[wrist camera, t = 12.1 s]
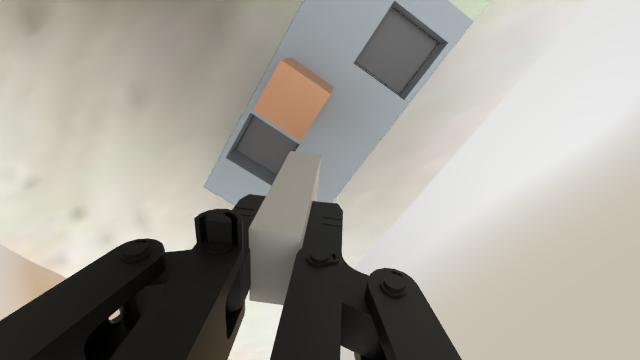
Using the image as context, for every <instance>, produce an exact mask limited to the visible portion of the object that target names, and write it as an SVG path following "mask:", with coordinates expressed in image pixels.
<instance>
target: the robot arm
mask: <svg viewBox="0 0 640 360" xmlns="http://www.w3.org/2000/svg"><path fill="white" fill-rule="evenodd" d="M320 164H321V155H320V154H311V153H303V152H294V151H290V152H289V154H288V156H287V158H286V160H285V162H284V164H283V165H282V167H281V169H280V171H279V173H278V175H277V177H276V179H275V180H274V182H273V184H272V186H271V188H270V190H269V192H268V193H267V195H266V196H261V195H253V194H248V195H246V196H245V197H243V198H241V199H240V200H239V201H238V202H237V204H236V205H235V207H234V208H233V210H229V209H214V210H209V211H206V212H204V213H201V214H199V215H198V216H197V217H195V218H194V220H195V230H196V239H197V243H196V245H195V246H194V247H193V249H191V250H185V251H175V252H165V249H164V246H163V244H162V243H161V242H159V241H157V240H154V239H137V240H133V241H129V242H126V243H124V244H122V245H120V246H118V247H116V248H115V249H113V250H112V251H110V252H108V253H107V254H105V255H104V256H102V257H100V258H99V259H97V260H96V261H94V262H93V263H91V264H89V265H88V266H86V267H85V268H83V269H81V270H80V271H78V272H77V273H75V274H74V275H72V276H70V277H69V278H67V279H66V280H64V281H63V282H61V283H59V284H58V285H56V286H55V287H53V288H51V289H50V290H48V291H47V292H45V293H43V294H42V295H40V296H39V297H37V298H36V299H34V300H32V301H31V302H29V303H28V304H26V305H25V306H23V307H21V308H20V309H18V310H17V311H15V312H13V313H12V314H10V315H9V316H7V317H6V318H4V319H2V320H1V321H0V360H227V359H228V356H229V354H230V351H231V348H232V346H233V343H234V340H235V338H236V335H237V333H238V330H239V327H240V325H241V322H242V319H243V317H244V313H245V299H246V296H247V294H248V291H249V289H250V300H251V301H258V302H265V303H273V304H280V305H284V306H283V310H282V314H281V318H280V322H279V326H278V330H277V334H276V338H275V342H274V346H273V350H272V354H271V358H270V360H340V345H341V346H343V347H345V348H347V349H349V350H351V351H353V352H354V355H355V360H462V359H461V358H460V356H459V354H458V353H457V351H456V349H455V347H454V346H453V344H452V342H451V341H450V339H449V337H448V336H447V334H446V332H445V330H444V329H443V327H442V325H441V324H440V322H439V320H438V319H437V317H436V315H435V313H434V312H433V310H432V308H431V307H430V305H429V303H428V302H427V300H426V298H425V297H424V295H423V293H422V291H421V290H420V288H419V287H418V285H417V284H416V282H415V281H414V280H413V279H412V278H411V277H410V276H408V275H407V274H405V273H403V272H401V271H398V270H395V269H389V268H383V269H378V270H375V271H374V272H373V273H371V274H370V276H368V275H366V274H363V273H361V272H358V271H356V270H354V269H353V268H351V267H350V266H349V265H348V264H347V263H346V262H345V261H344V259H343V257H342V222H343V221H342V220H343V211H342V209H341V208H340V206H339V205H338V204H335V203H327V202H319V201H317V195H318V185H319V174H320ZM118 309H119V310H120V315H118V316H117V317H116V318H114V319H112V320H109V318H108V317H110V316H111V315H112V314H113V313H114V312H116V311H117V310H118Z"/></svg>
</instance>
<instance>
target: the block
mask: <svg viewBox="0 0 640 360" xmlns="http://www.w3.org/2000/svg"><path fill="white" fill-rule="evenodd" d="M332 90H333V86H331V85H330V84H329V83H327V82H326V81H324V80H323V79H321V78H320V77H319V76H317V75H316V74H314V73H313V72H311V71H310V70H309V69H307V68H306V67H304V66H303V65H301V64H300V63H299V62H297V61H296V60H294V59H293V58H286V59H282V60H280V62H279V64H278V66H277V68H276V69H275V71H274V73H273V75H272V77H271V78H270V80H269V82H268V84H267V86H266V88H265V89H264V91H263V93H262V95H261V97H260V98H259V100H258V102H257V104H256V106H255V108H254V109H253V110H254V111H255V112H257V113H258V114H260V115H261V116H263V117H265V118H266V119H268V120H269V121H271V122H272V123H274V124H275V125H277V126H278V127H280V128H281V129H283V130H284V131H286V132H288V133H289V134H291V135H292V136H294V137H295V138H297V139H298V140H300V141H301V139H302V138H303V136H304V135H305V133H306V132H307V130H308V129H309V127H310V125H311V124H312V122H313V121H314V119H315V118H316V116H317V115H318V113H319V112H320V110H321V109H322V107H323V106H324V104H325V103H326V101H327V99H328V98H329V96H330V95H331V93H332Z"/></svg>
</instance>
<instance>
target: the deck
mask: <svg viewBox="0 0 640 360" xmlns="http://www.w3.org/2000/svg"><path fill="white" fill-rule="evenodd" d="M489 1H490V0H304V1H303V3H302V4H301V6H300V8H299V10H298V12H297V14H296V16H295V17H294V19H293V21H292V23H291V25H290V27H289V29H288V31H287V32H286V34H285V36H284V38H283V40H282V42H281V44H280V45H279V47H278V49H277V51H276V53H275V55H274V57H273V58H272V60H271V62H270V64H269V66H268V68H267V70H266V72H265V73H264V75H263V77H262V79H261V81H260V83H259V85H258V86H257V88H256V90H255V92H254V94H253V96H252V98H251V99H250V101H249V103H248V105H247V107H246V109H245V111H244V113H243V114H242V116H241V118H240V120H239V122H238V124H237V126H236V127H235V129H234V131H233V133H232V135H231V137H230V139H229V140H228V142H227V144H226V146H225V148H224V150H223V152H222V154H221V155H220V157H219V159H218V161H217V163H216V165H215V167H214V168H213V170H212V172H211V174H210V176H209V178H208V180H207V181H206V183H205V185H204V187H205V188H206V189H208V190H210V191H211V192H213V193H215V194H216V195H218V196H220V197H222V198H223V199H225V200H227V201H228V202H230V203H232V204H234V205H236V204H237V202H238V201H239V200H240V199H241V198H243V197H245V196H246V195H248V194H253V195H261V196H266V195H267V193H268V192H269V190H270V188H271V186H272V184H273V182H274V180H275V179H276V177H277V175H278V173H279V171H280V169H281V167H282V165H283V164H284V162H285V160H286V158H287V156H288V154H289V152H290V151H294V149H295V148H296V146H297V144H299V145H298V146H297V148H296V149H295V151H294V152H303V153H311V154H320V155H321V164H320V174H319V185H318V195H317V201H319V202H327V203H332V201H333V200H334V199H335V197H336V196H337V195H338V194H339V192H340V191H341V190H342V188H343V187H344V186H345V185H346V183H347V182H348V181H349V180H350V178H351V177H352V176H353V174H354V173H355V172H356V171H357V169H358V168H359V167H360V166H361V164H362V163H363V162H364V160H365V159H366V158H367V157H368V155H369V154H370V153H371V152H372V150H373V149H374V148H375V146H376V145H377V144H378V143H379V141H380V140H381V139H382V137H383V136H384V135H385V134H386V132H387V131H388V130H389V129H390V127H391V126H392V125H393V123H394V122H395V121H396V120H397V118H398V117H399V116H400V115H401V113H402V112H403V111H404V109H405V108H406V107H407V106H408V104H409V103H410V102H411V101H412V99H413V98H414V97H415V95H416V94H417V93H418V92H419V90H420V89H421V88H422V86H423V85H424V84H425V83H426V81H427V80H428V79H429V78H430V76H431V75H432V74H433V72H434V71H435V70H436V69H437V67H438V66H439V65H440V64H441V62H442V61H443V60H444V58H445V57H446V56H447V55H448V53H449V52H450V51H451V50H452V48H453V47H454V46H455V44H456V43H457V42H458V41H459V39H460V38H461V37H462V35H463V34H464V33H465V32H466V30H467V29H468V28H469V27H470V25H471V24H472V23H473V21H474V20H475V19H476V18H477V16H478V15H479V14H480V13H481V11H482V10H483V9H484V7H485V6H486V5H487V4H488V2H489ZM391 6H392V7H394V8H395V9H396V10H398V11H399V12H400V13H401V14H403V15H404V16H405V17H407V18H408V19H409V20H410V21H412V22H413V23H414V24H415V25H417V26H418V27H419V28H421V29H422V30H423V31H424V32H426V33H427V34H428V35H430V36H431V37H432V38H433V39H435V40H436V41H437V42H439V44H438V43H437V42H436V41H434V40H433V39H432V38H431V37H429V36H428V35H427V34H425V33H424V32H423V31H422V30H420V29H419V28H418V27H416V26H415V25H414V24H413V23H411V22H410V21H409V20H407V19H406V18H405V17H404V16H402V15H401V14H400V13H398V12H397V11H396V10H395V9H393V8H392V7H391ZM437 44H438V45H437ZM436 45H437V46H436ZM435 47H436V48H435ZM434 48H435V49H434ZM433 49H434V50H433ZM432 51H433V52H432ZM431 52H432V53H431ZM430 53H431V54H430ZM429 55H430V56H429ZM428 56H429V57H428ZM427 57H428V58H427ZM286 58H293V59H294V60H296V61H297V62H299V63H300V64H301V65H303V66H304V67H306V68H307V69H309V70H310V71H311V72H313V73H314V74H316V75H317V76H319V77H320V78H321V79H323V80H324V81H326V82H327V83H329V84H330V85H331V86H333V90H332V93H331V95H330V96H329V98H328V99H327V101H326V103H325V104H324V106H323V107H322V109H321V110H320V112H319V113H318V115H317V116H316V118H315V119H314V121H313V122H312V124H311V125H310V127H309V129H308V130H307V132H306V133H305V135H304V136H303V138H302V139H301V141H300V140H298V139H297V138H295V137H294V136H292V135H291V134H289V133H288V132H286V131H284V130H283V129H281V128H280V127H278V126H277V125H275V124H274V123H272V122H271V121H269V120H268V119H266V118H265V117H263V116H261V115H260V114H258V113H257V112H255V111H254V110H253V109H254V108H255V106H256V104H257V102H258V100H259V98H260V97H261V95H262V93H263V91H264V89H265V88H266V86H267V84H268V82H269V80H270V78H271V77H272V75H273V73H274V71H275V69H276V68H277V66H278V64H279V62H280V60H282V59H286ZM426 59H427V60H426ZM425 60H426V61H425ZM424 61H425V62H424ZM354 62H356V63H357V64H359V65H360V66H362V67H363V68H364V69H366V70H367V71H368V72H370V73H371V74H373V75H374V76H375V77H377V78H378V79H379V80H381V81H382V82H384V83H385V84H386V85H388V86H389V87H390V88H392V89H393V90H395V91H396V92H397V93H399V94H400V93H401V91H402V90H403V89H404V88H405V89H404V90H403V91H402V93H401V94H400V95H398V94H397V93H395V92H394V91H393V90H391V89H390V88H388V87H387V86H386V85H384V84H383V83H382V82H380V81H379V80H377V79H376V78H375V77H373V76H372V75H371V74H369V73H368V72H366V71H365V70H364V69H362V68H361V67H360V66H358V65H357V64H355V63H354ZM423 62H424V64H423ZM422 64H423V65H422ZM421 65H422V66H421ZM420 66H421V68H420ZM419 68H420V69H419ZM418 69H419V70H418ZM417 70H418V71H417ZM416 72H417V73H416ZM415 73H416V74H415ZM414 74H415V75H414ZM413 76H414V77H413ZM412 77H413V78H412ZM411 78H412V79H411ZM410 80H411V81H410ZM409 81H410V82H409ZM408 82H409V83H408ZM407 84H408V85H407ZM406 85H407V86H406ZM405 86H406V87H405ZM254 115H255V116H254ZM253 116H254V117H253ZM252 118H253V119H252ZM251 119H252V121H251ZM250 121H251V123H250ZM249 123H250V125H249ZM248 125H249V126H248ZM247 127H248V128H247ZM246 128H247V130H246ZM245 130H246V132H245ZM244 132H245V134H244ZM243 134H244V135H243ZM242 136H243V137H242ZM241 137H242V139H241ZM240 139H241V141H240ZM239 141H240V143H239ZM238 143H239V144H238ZM237 145H238V146H237ZM236 146H237V148H236ZM235 148H236V150H235Z"/></svg>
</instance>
